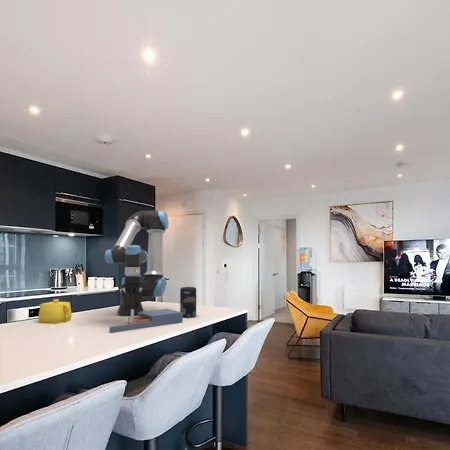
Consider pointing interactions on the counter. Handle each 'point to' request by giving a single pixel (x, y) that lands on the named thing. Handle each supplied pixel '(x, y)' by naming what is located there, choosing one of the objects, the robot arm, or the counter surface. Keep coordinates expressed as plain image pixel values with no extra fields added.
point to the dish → (140, 319)
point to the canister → (188, 301)
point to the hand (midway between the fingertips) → (131, 322)
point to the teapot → (55, 312)
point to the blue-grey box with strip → (152, 320)
